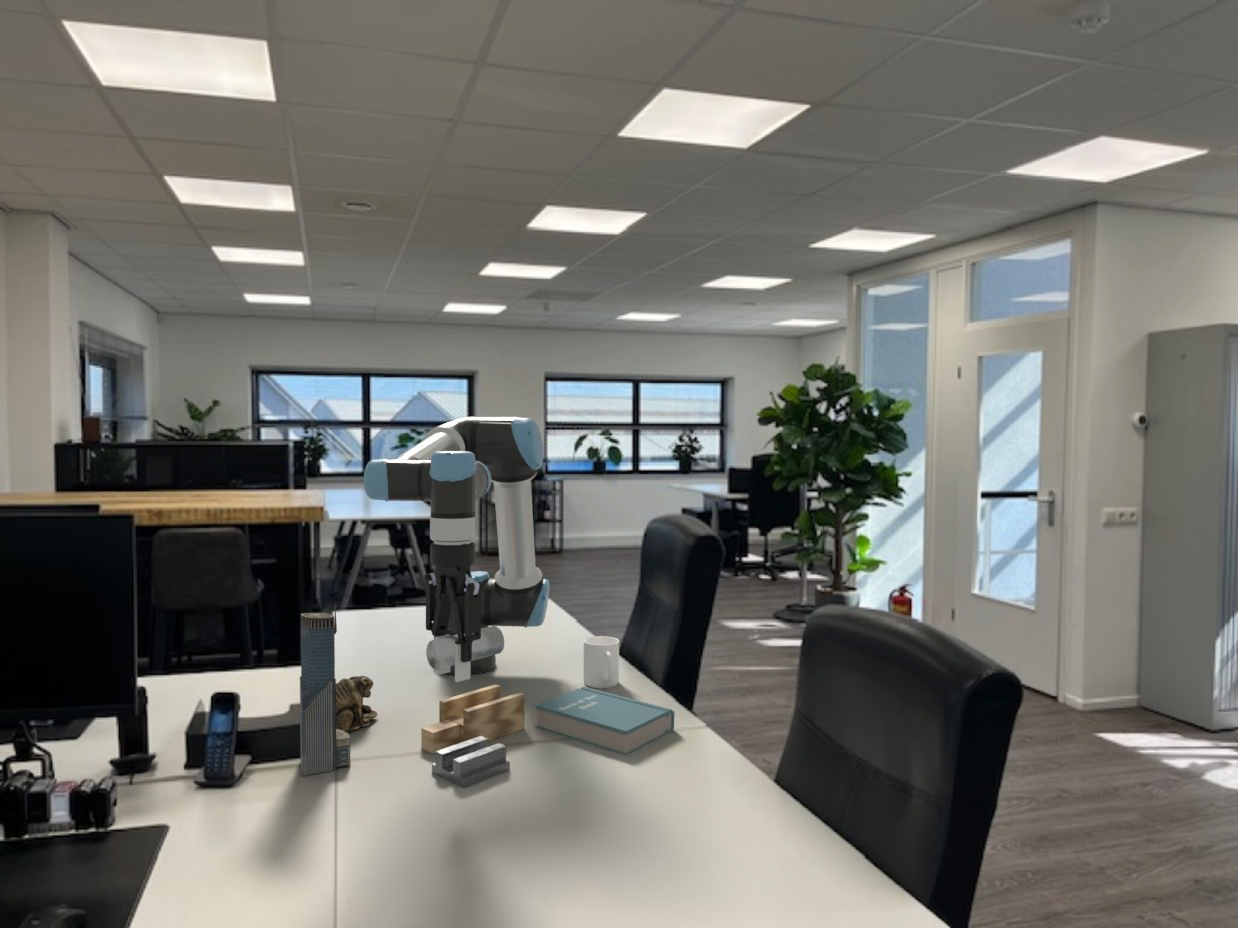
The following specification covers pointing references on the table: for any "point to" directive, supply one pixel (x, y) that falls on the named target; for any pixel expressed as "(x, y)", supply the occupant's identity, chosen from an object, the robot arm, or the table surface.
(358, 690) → the figurine
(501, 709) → the beam
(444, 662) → the axle
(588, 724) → the book
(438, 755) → the v block
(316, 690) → the building
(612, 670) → the cup
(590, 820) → the table surface
